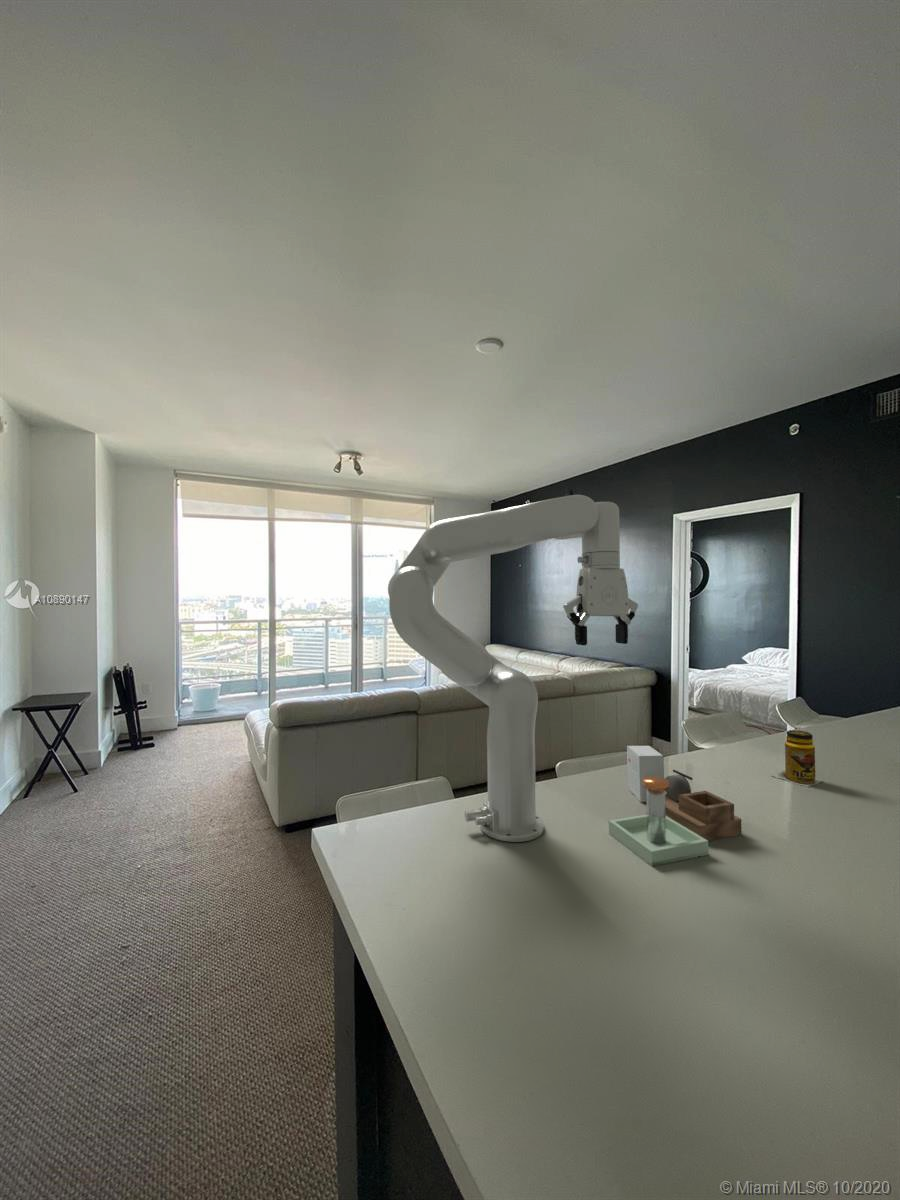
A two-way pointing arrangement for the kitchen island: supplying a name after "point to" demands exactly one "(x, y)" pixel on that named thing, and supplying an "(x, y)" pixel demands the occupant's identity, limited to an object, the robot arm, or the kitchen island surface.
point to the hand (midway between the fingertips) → (601, 644)
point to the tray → (675, 849)
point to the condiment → (799, 759)
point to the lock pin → (656, 808)
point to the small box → (642, 768)
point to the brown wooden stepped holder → (700, 810)
